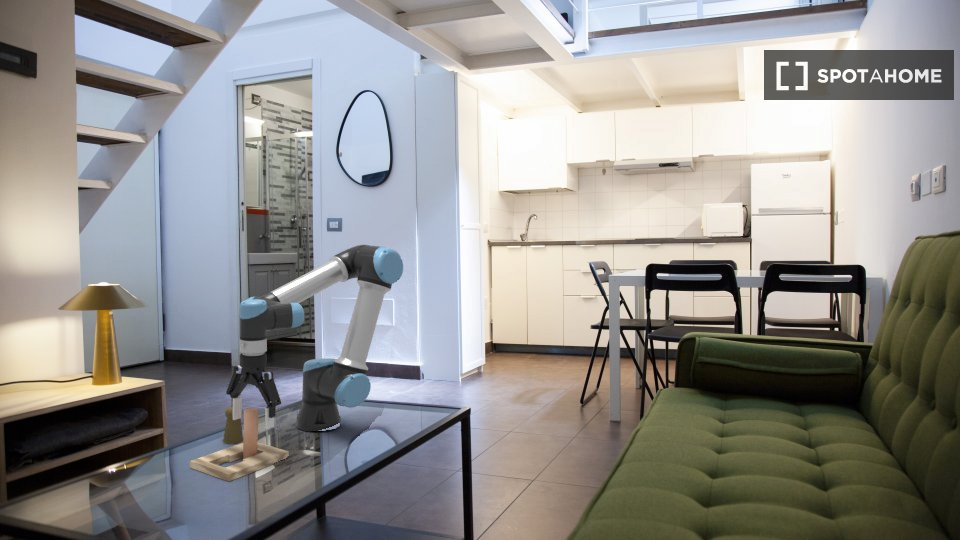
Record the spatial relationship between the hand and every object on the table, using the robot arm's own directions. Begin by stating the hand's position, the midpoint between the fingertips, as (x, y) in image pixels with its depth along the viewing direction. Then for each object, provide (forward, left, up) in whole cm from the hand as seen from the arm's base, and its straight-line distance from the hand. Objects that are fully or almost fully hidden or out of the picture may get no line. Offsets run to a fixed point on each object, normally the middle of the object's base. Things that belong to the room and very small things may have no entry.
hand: (253, 423), depth 201 cm
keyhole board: (+4, 0, -11) cm, 12 cm away
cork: (-7, -16, -11) cm, 21 cm away
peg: (+1, 0, -11) cm, 11 cm away
